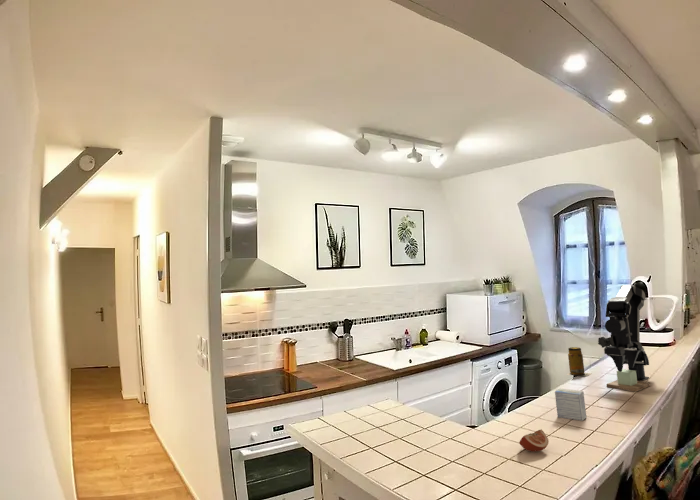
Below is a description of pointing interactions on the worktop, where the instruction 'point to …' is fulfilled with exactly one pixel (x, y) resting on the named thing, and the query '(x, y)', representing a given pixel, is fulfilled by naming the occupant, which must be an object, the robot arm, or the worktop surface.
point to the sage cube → (627, 377)
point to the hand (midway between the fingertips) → (625, 369)
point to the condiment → (576, 362)
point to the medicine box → (570, 404)
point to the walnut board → (628, 386)
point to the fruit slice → (534, 441)
